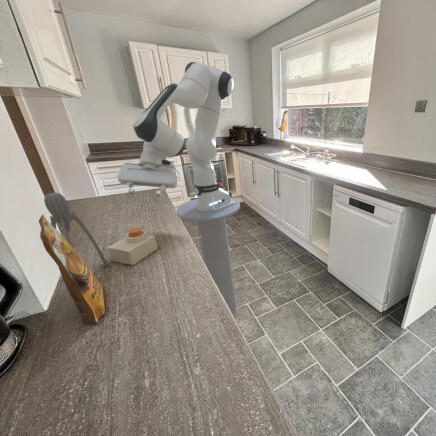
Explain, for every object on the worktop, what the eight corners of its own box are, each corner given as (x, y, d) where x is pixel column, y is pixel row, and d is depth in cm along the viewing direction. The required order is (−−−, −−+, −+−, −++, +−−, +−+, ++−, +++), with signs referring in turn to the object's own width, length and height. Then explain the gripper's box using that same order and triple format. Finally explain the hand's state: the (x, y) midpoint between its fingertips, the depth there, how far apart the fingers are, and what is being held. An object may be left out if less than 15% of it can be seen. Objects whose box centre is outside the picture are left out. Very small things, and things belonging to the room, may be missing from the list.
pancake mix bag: (75, 335, 61) (24, 240, 49) (77, 293, 75) (38, 211, 63) (107, 322, 65) (67, 231, 53) (104, 284, 78) (71, 205, 67)
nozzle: (136, 231, 96) (134, 227, 95) (145, 233, 95) (143, 228, 94) (126, 236, 92) (125, 232, 91) (136, 238, 91) (134, 233, 90)
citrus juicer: (107, 265, 88) (77, 187, 76) (108, 279, 81) (75, 195, 68) (67, 276, 82) (27, 193, 69) (64, 293, 75) (19, 203, 62)
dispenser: (138, 244, 101) (133, 228, 98) (158, 248, 99) (153, 231, 95) (112, 261, 91) (105, 242, 87) (133, 265, 88) (127, 246, 85)
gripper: (119, 156, 91) (110, 188, 85) (177, 163, 96) (172, 193, 90) (125, 166, 96) (117, 196, 91) (180, 172, 101) (175, 200, 96)
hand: (145, 194), depth 91 cm, fingers open, 8 cm apart
